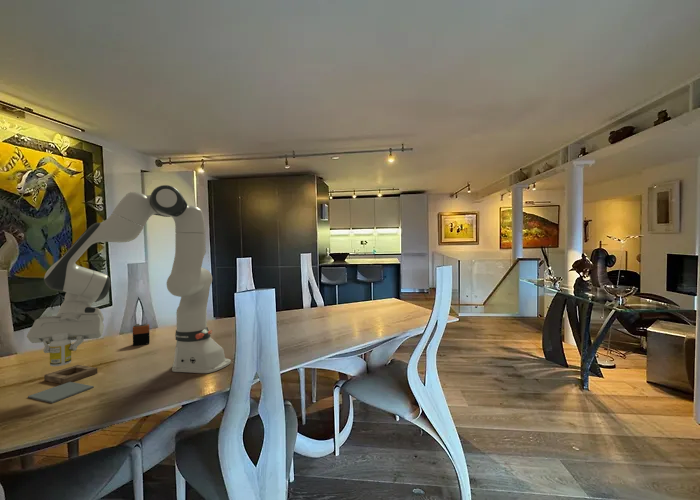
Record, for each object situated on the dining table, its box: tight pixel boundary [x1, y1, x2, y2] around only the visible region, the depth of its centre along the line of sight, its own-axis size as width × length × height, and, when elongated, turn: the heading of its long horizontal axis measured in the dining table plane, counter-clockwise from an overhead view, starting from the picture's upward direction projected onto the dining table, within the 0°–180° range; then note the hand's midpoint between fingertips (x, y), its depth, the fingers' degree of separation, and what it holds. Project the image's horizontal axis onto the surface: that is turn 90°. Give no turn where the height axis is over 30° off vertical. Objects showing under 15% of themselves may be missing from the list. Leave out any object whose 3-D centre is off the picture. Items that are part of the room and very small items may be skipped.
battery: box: [132, 322, 151, 347], centre depth 166 cm, size 4×7×10 cm, turn 119°
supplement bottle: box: [49, 333, 72, 367], centre depth 111 cm, size 5×5×10 cm
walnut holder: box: [43, 364, 99, 385], centre depth 124 cm, size 11×11×2 cm
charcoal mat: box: [27, 381, 94, 404], centre depth 111 cm, size 12×12×1 cm
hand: (59, 351), depth 110 cm, fingers closed on supplement bottle, 5 cm apart
